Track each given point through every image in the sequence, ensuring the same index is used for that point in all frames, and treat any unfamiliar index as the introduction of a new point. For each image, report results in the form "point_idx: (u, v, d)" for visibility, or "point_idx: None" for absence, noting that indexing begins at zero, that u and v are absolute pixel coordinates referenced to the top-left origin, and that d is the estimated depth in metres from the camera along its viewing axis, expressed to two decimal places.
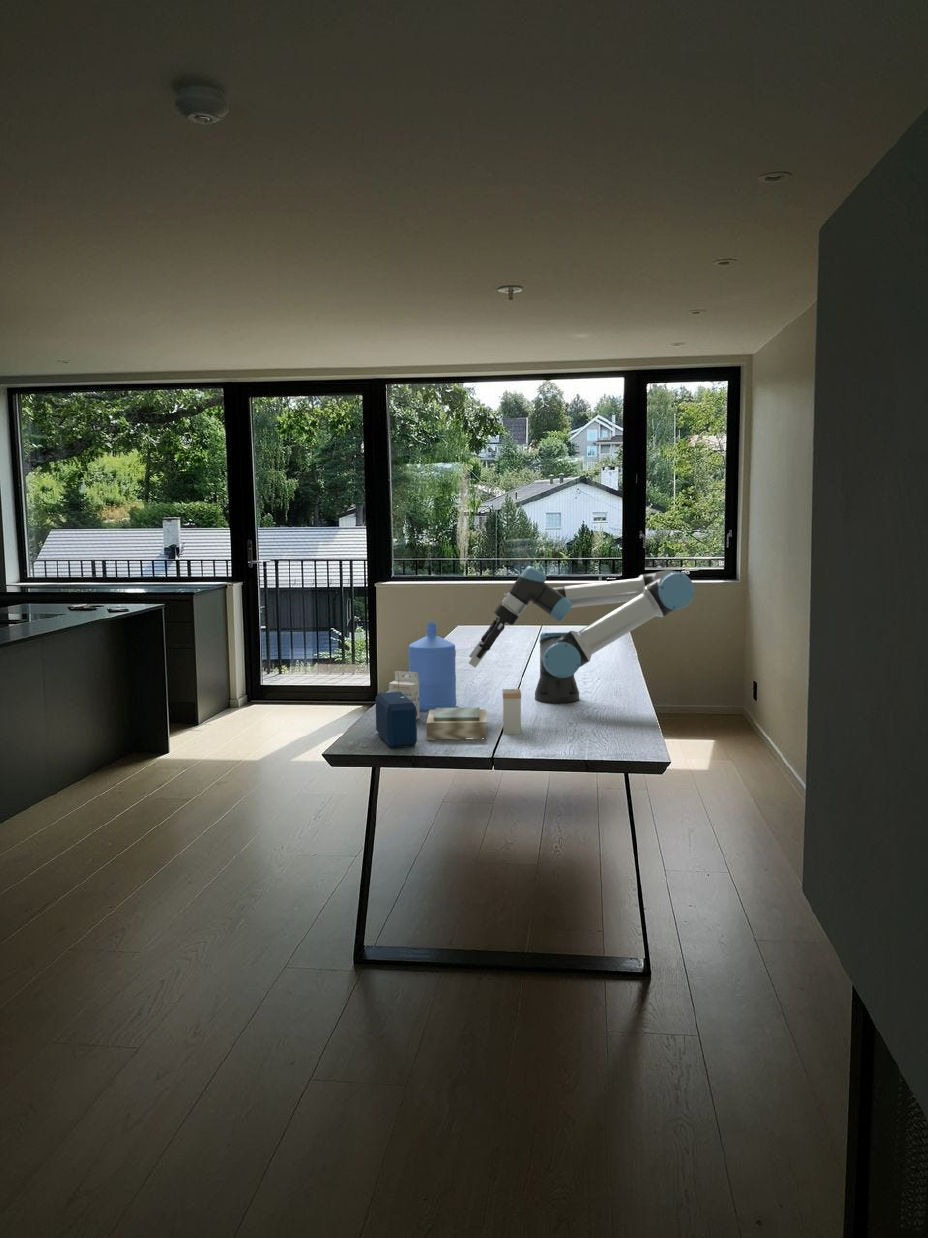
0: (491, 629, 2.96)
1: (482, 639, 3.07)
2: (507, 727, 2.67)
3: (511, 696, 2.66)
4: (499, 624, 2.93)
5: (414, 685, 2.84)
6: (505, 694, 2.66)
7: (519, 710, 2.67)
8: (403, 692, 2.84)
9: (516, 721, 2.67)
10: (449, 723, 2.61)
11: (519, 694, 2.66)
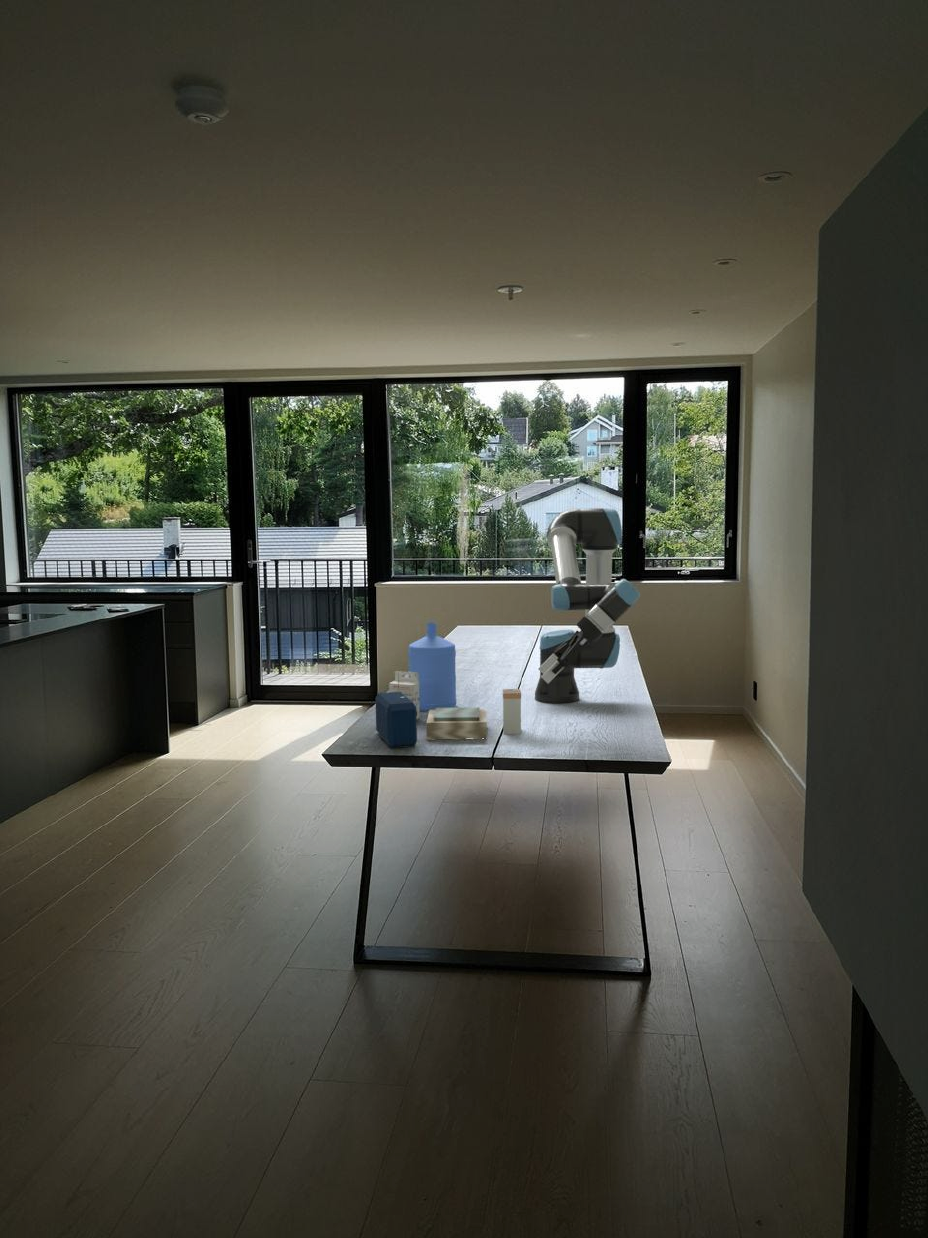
0: None
1: None
2: (507, 727, 2.67)
3: (511, 696, 2.66)
4: None
5: (414, 685, 2.84)
6: (505, 694, 2.66)
7: (519, 710, 2.67)
8: (403, 692, 2.84)
9: (516, 721, 2.67)
10: (449, 723, 2.61)
11: (519, 694, 2.66)
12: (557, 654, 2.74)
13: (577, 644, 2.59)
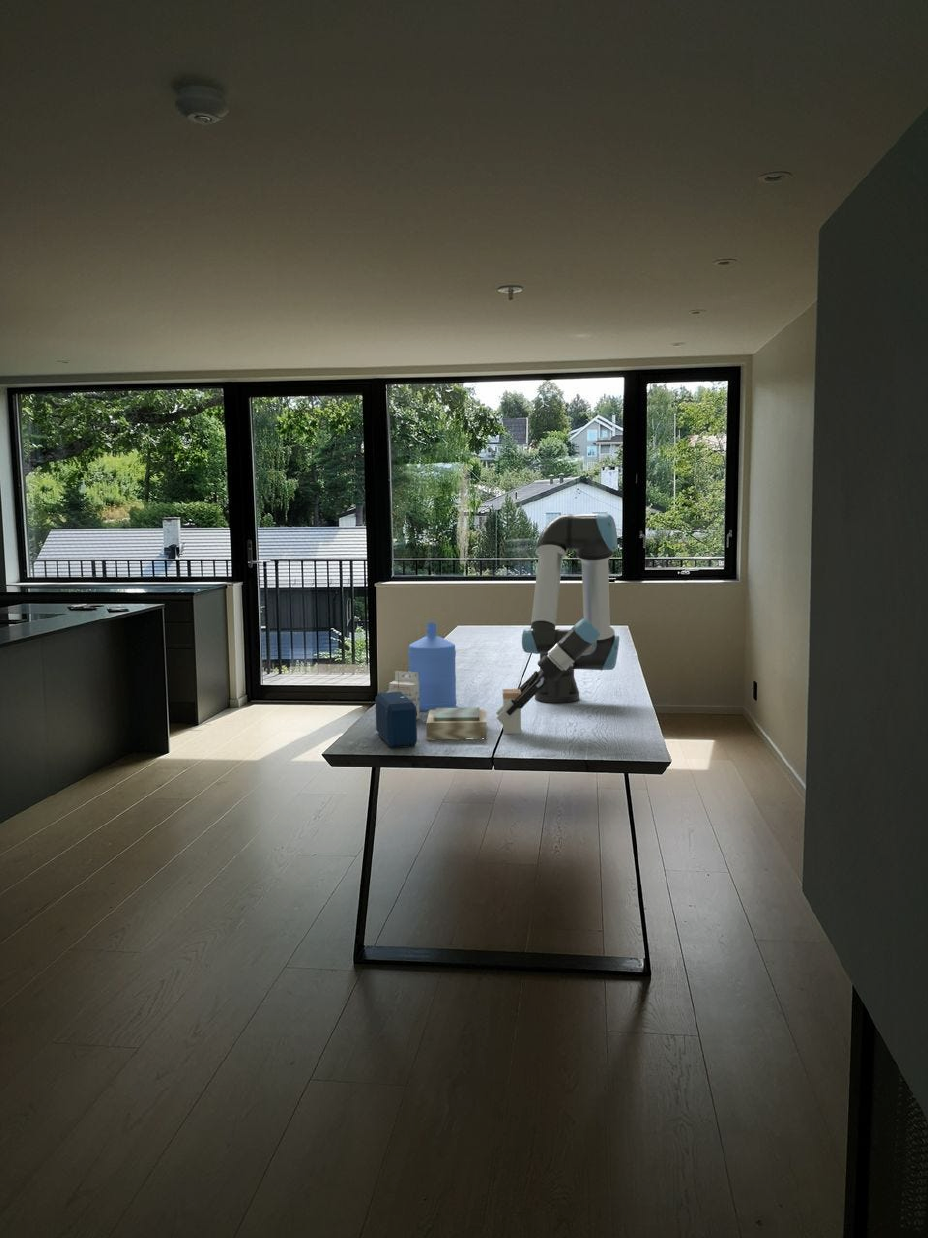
0: None
1: None
2: (507, 727, 2.67)
3: (511, 696, 2.66)
4: None
5: (414, 685, 2.84)
6: (505, 694, 2.66)
7: (519, 710, 2.67)
8: (403, 692, 2.84)
9: (516, 721, 2.67)
10: (449, 723, 2.61)
11: (519, 694, 2.66)
12: None
13: (533, 687, 2.62)
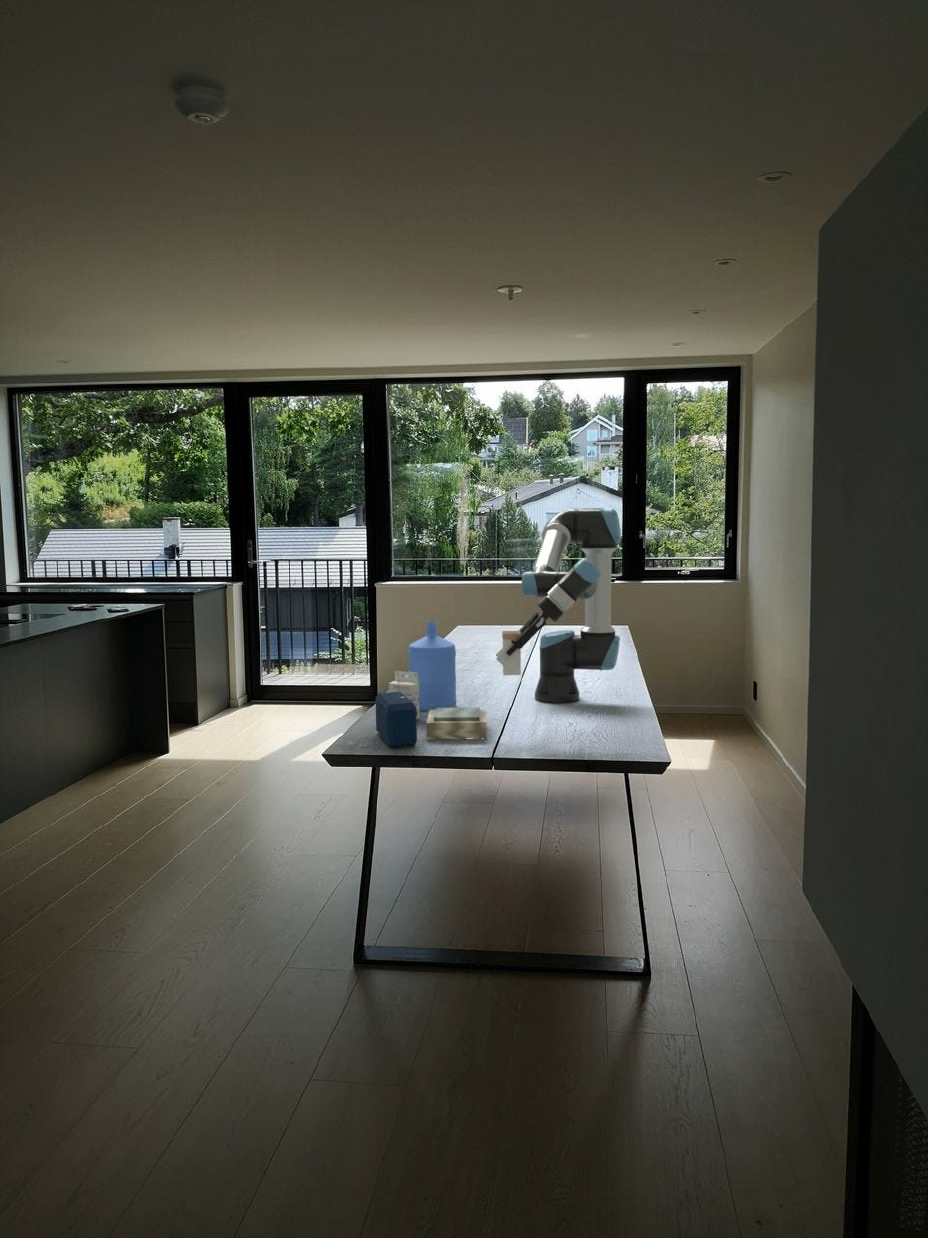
0: None
1: None
2: (507, 668, 2.65)
3: (510, 636, 2.64)
4: None
5: (414, 685, 2.84)
6: (505, 635, 2.64)
7: (519, 651, 2.65)
8: (403, 692, 2.84)
9: (516, 662, 2.65)
10: (449, 723, 2.61)
11: (519, 635, 2.64)
12: None
13: (533, 626, 2.60)
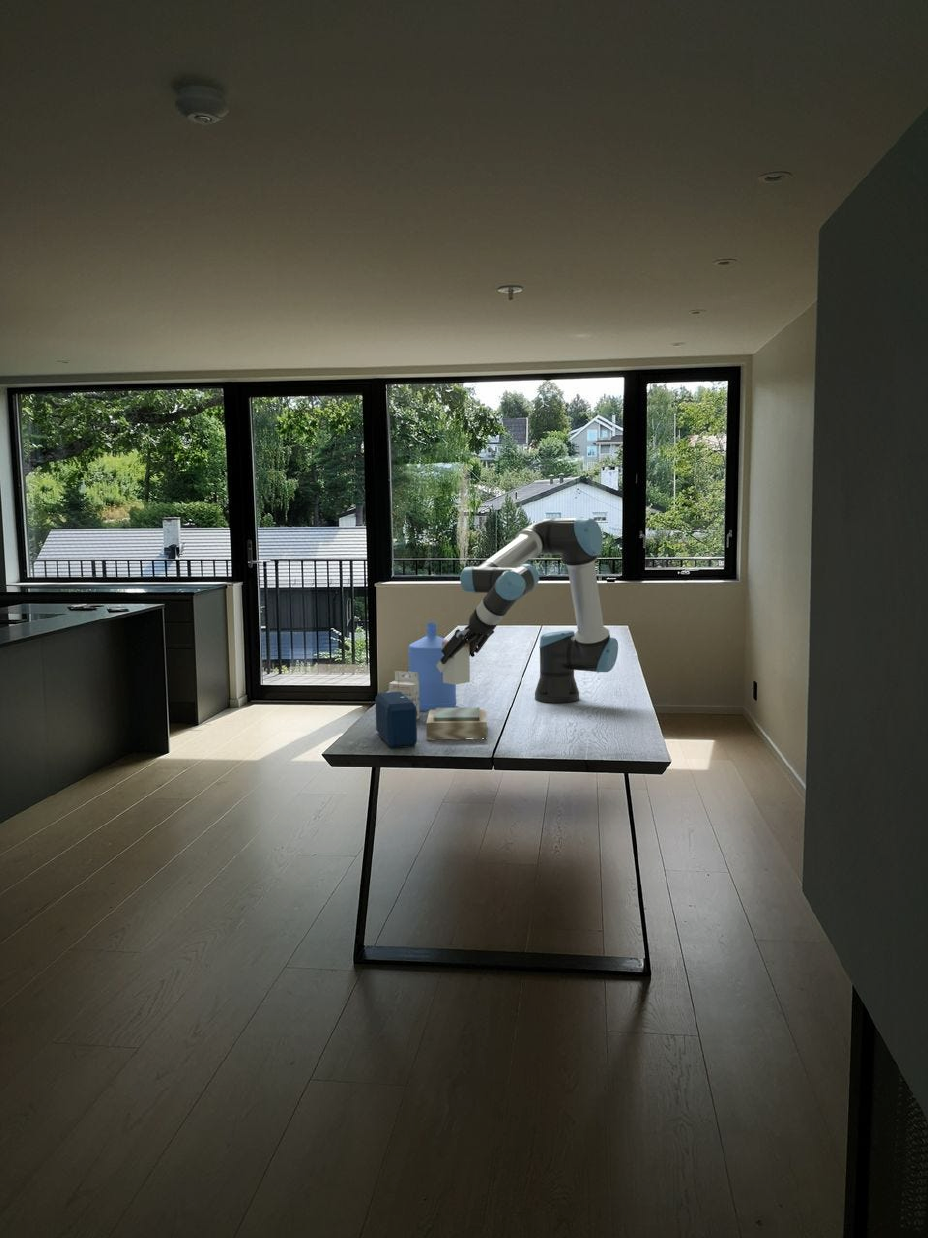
0: None
1: None
2: (445, 676, 2.66)
3: None
4: None
5: (414, 685, 2.84)
6: (443, 643, 2.66)
7: (453, 660, 2.63)
8: (403, 692, 2.84)
9: (451, 671, 2.64)
10: (449, 723, 2.61)
11: None
12: None
13: (454, 637, 2.58)
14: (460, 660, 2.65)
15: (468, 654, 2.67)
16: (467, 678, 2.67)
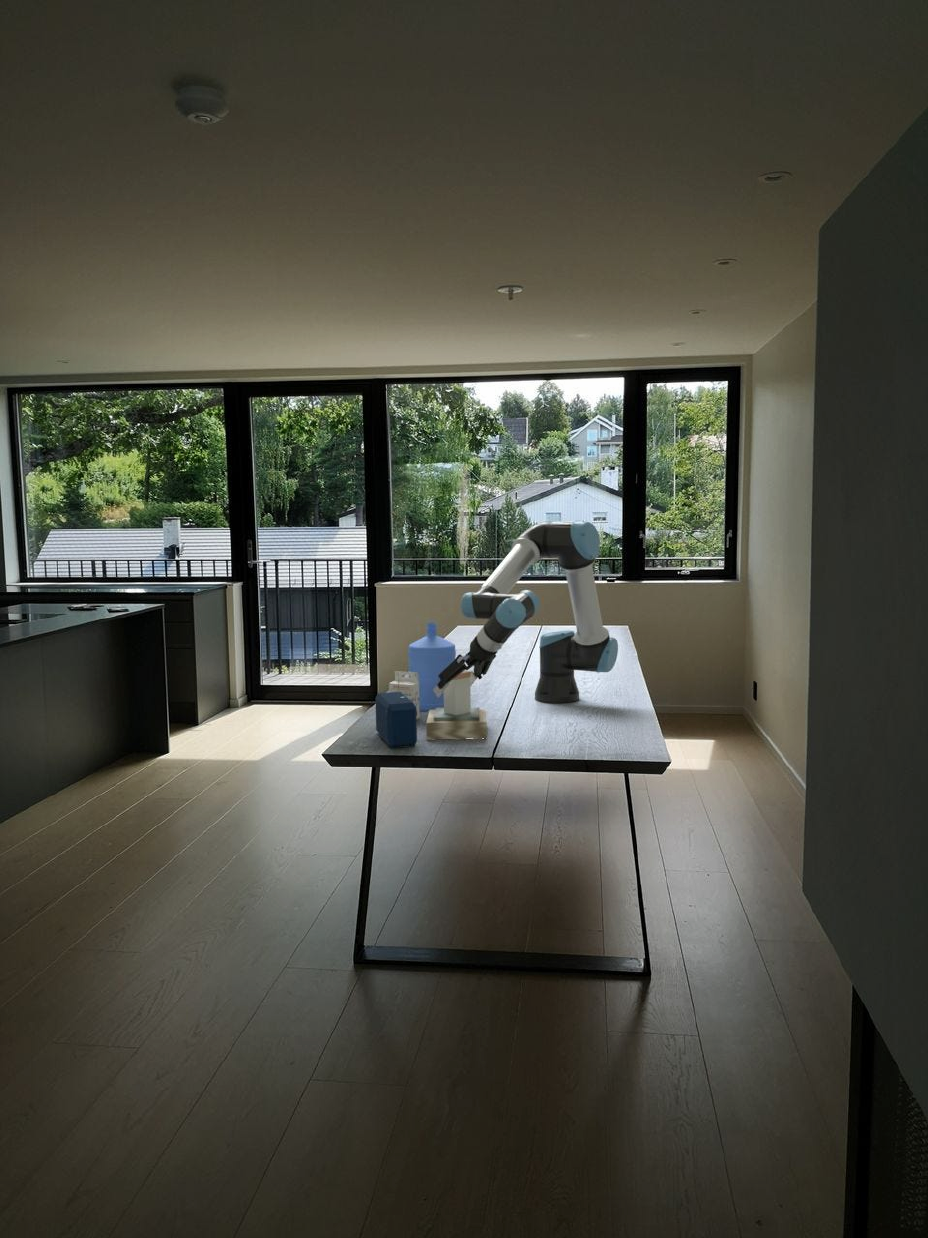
0: None
1: (449, 680, 2.62)
2: (446, 707, 2.68)
3: None
4: None
5: (414, 685, 2.84)
6: None
7: (454, 691, 2.65)
8: (403, 692, 2.84)
9: (452, 702, 2.66)
10: (449, 723, 2.61)
11: None
12: (475, 672, 2.70)
13: (454, 662, 2.58)
14: (461, 690, 2.66)
15: (468, 684, 2.68)
16: (468, 709, 2.69)
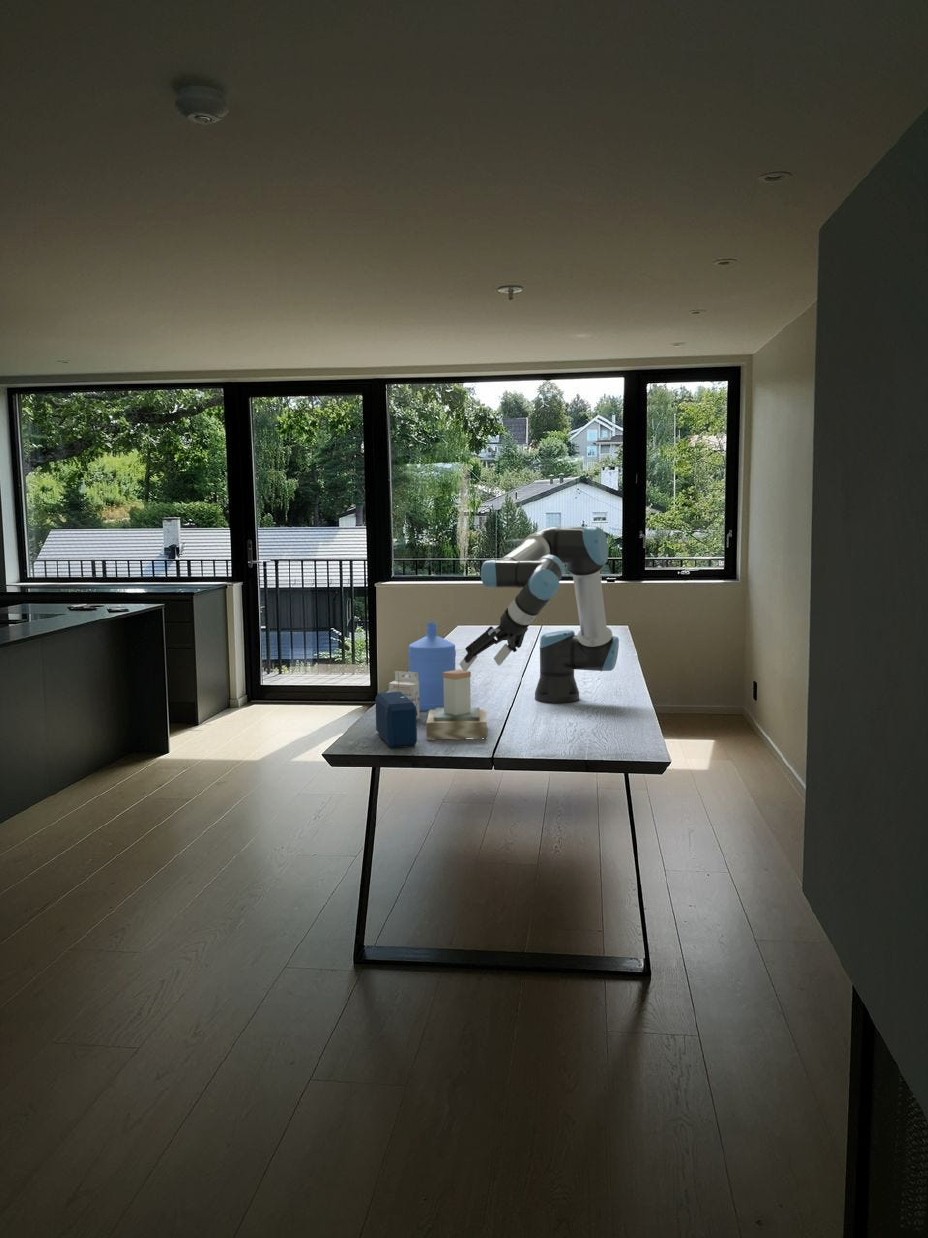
0: (514, 638, 2.55)
1: None
2: (446, 707, 2.68)
3: (448, 676, 2.66)
4: None
5: (414, 685, 2.84)
6: (444, 673, 2.67)
7: (454, 691, 2.65)
8: (403, 692, 2.84)
9: (452, 702, 2.66)
10: (449, 723, 2.61)
11: (454, 675, 2.64)
12: (509, 645, 2.61)
13: (484, 634, 2.48)
14: (461, 690, 2.66)
15: (468, 684, 2.68)
16: (468, 709, 2.69)
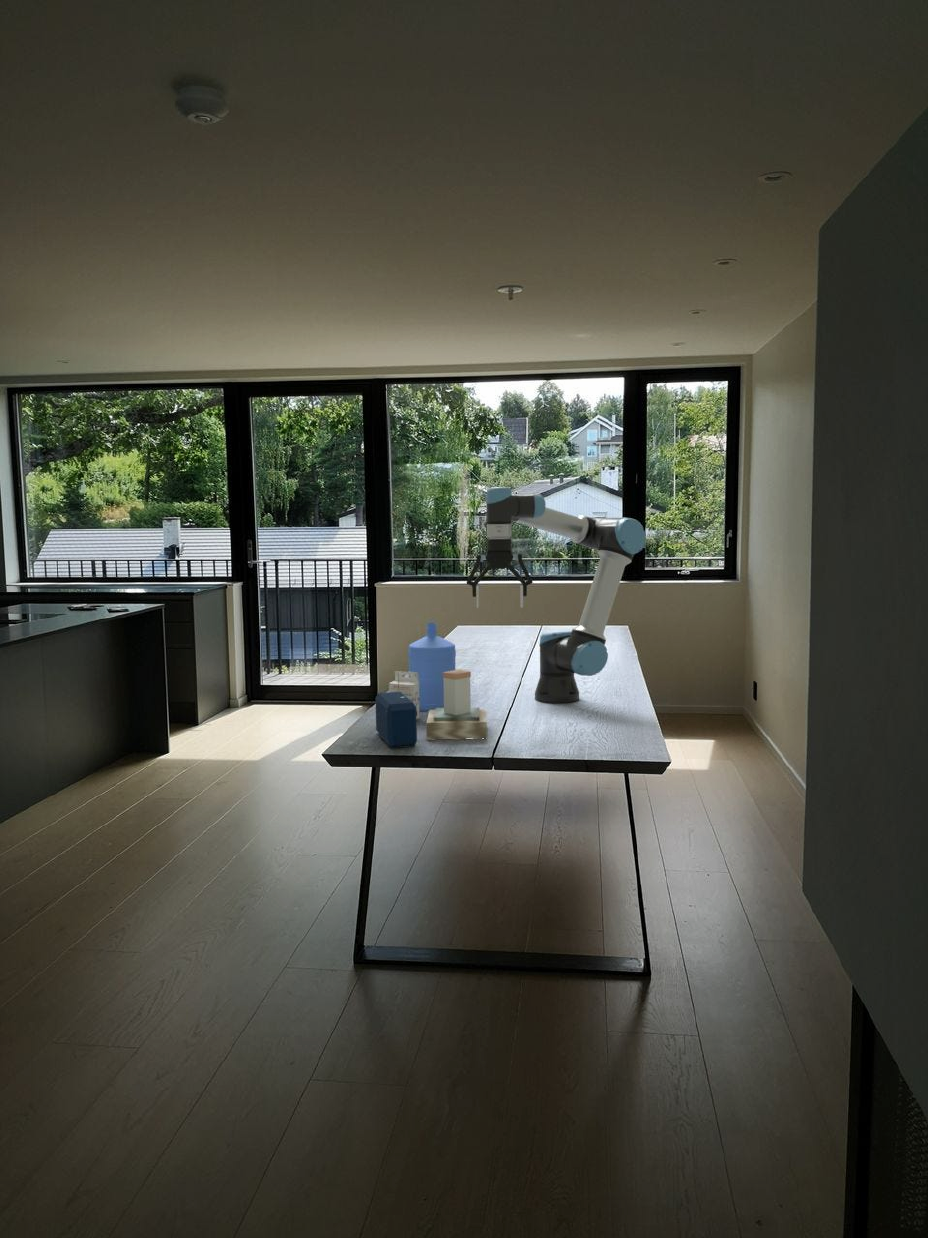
0: (511, 566, 2.81)
1: None
2: (446, 707, 2.68)
3: (448, 676, 2.66)
4: (521, 555, 2.82)
5: (414, 685, 2.84)
6: (444, 673, 2.67)
7: (454, 691, 2.65)
8: (403, 692, 2.84)
9: (452, 702, 2.66)
10: (449, 723, 2.61)
11: (454, 675, 2.64)
12: None
13: None
14: (461, 690, 2.66)
15: (468, 684, 2.68)
16: (468, 709, 2.69)
